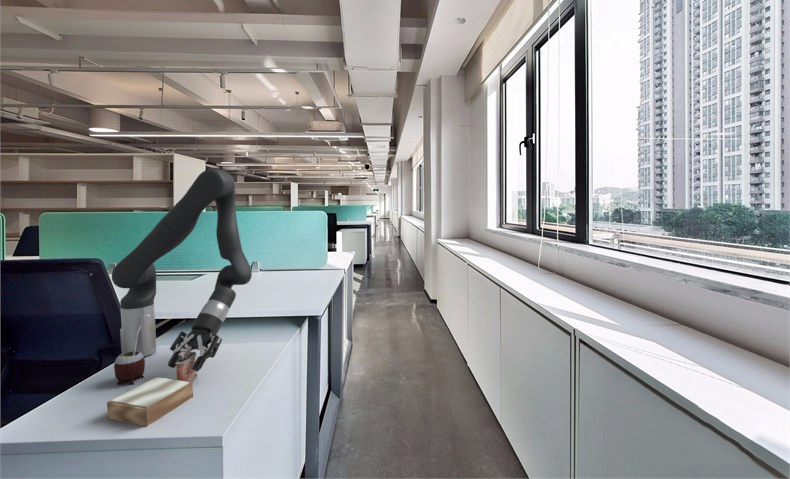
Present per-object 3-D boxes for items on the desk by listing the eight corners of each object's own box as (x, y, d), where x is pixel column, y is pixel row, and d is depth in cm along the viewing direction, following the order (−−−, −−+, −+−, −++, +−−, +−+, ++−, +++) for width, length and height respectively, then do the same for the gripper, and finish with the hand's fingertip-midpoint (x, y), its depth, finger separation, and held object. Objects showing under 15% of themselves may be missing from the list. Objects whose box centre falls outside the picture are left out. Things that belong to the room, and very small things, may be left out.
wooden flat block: (108, 418, 82) (106, 401, 82) (157, 390, 95) (156, 375, 95) (147, 426, 79) (146, 408, 79) (193, 396, 92) (192, 381, 92)
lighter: (185, 389, 96) (184, 354, 95) (173, 389, 96) (171, 355, 95) (200, 375, 104) (198, 343, 103) (188, 375, 104) (186, 343, 103)
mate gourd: (116, 389, 96) (113, 337, 94) (113, 379, 101) (110, 330, 100) (149, 380, 101) (146, 331, 99) (144, 371, 106) (142, 324, 105)
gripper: (185, 310, 107) (153, 361, 97) (224, 313, 104) (195, 366, 94) (199, 321, 113) (171, 370, 103) (236, 325, 109) (210, 376, 99)
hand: (182, 368), depth 98 cm, fingers open, 8 cm apart
